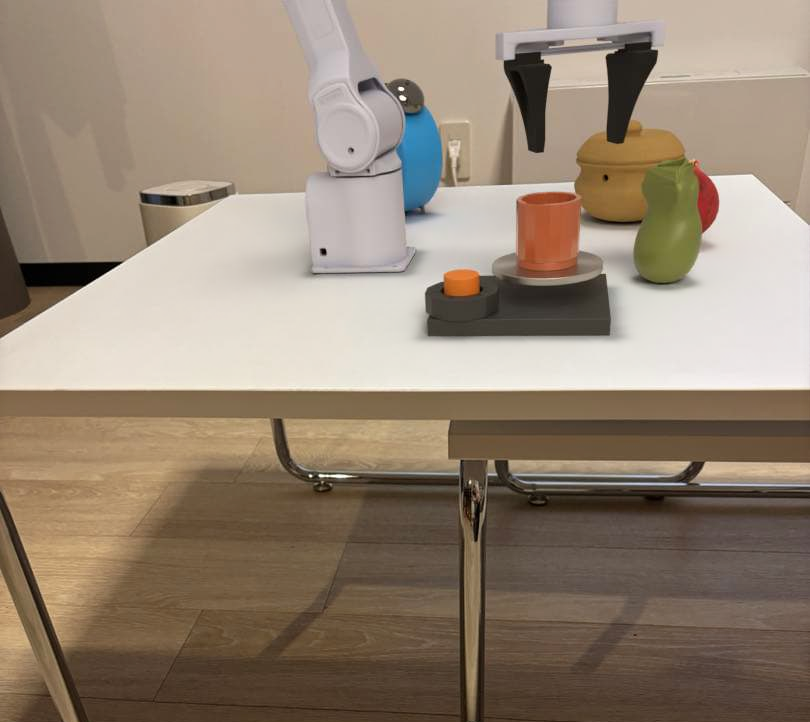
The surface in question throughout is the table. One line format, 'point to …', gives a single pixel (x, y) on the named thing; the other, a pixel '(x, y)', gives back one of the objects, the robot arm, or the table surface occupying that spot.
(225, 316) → the table surface
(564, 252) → the orange plastic cup
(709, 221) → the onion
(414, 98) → the alarm clock
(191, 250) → the table surface
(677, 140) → the pot
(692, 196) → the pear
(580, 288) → the scale
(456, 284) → the tare button
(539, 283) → the scale pan
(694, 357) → the table surface
